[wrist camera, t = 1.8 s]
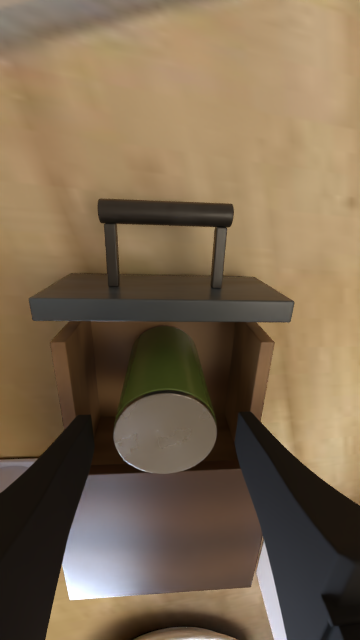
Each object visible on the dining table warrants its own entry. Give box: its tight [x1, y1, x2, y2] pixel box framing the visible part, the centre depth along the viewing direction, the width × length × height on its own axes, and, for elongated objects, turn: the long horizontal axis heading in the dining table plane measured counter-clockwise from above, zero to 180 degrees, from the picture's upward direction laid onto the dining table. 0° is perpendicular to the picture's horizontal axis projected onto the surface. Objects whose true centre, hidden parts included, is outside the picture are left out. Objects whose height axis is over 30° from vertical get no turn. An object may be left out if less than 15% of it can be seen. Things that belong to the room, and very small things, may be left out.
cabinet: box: [62, 460, 263, 600], centre depth 22 cm, size 13×14×8 cm
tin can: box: [113, 325, 217, 474], centre depth 16 cm, size 5×5×8 cm
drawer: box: [29, 199, 294, 465], centre depth 17 cm, size 17×13×6 cm
